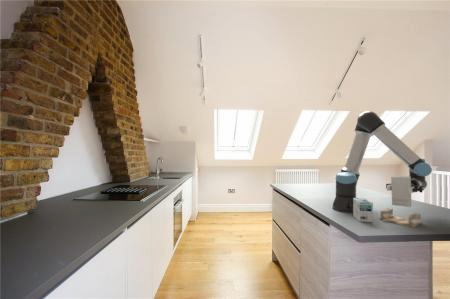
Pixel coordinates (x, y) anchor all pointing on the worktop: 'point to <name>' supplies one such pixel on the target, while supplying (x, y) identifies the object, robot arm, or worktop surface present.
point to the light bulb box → (362, 210)
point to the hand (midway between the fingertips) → (398, 189)
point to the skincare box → (401, 190)
